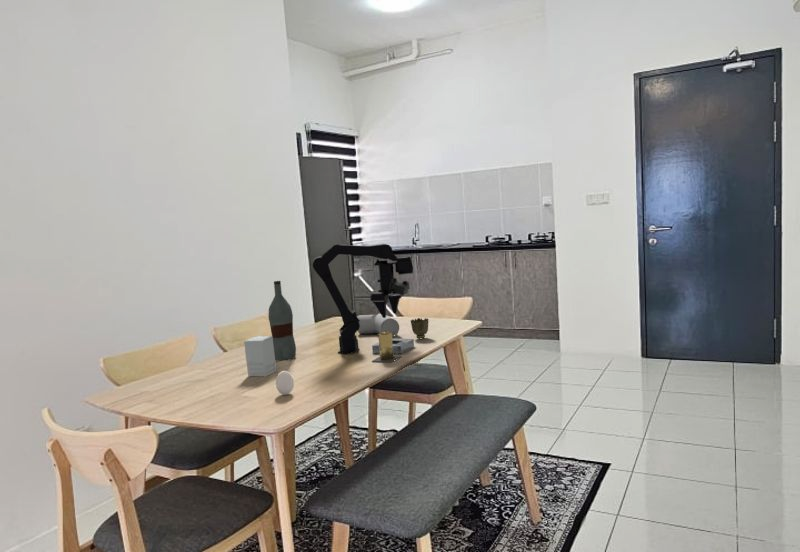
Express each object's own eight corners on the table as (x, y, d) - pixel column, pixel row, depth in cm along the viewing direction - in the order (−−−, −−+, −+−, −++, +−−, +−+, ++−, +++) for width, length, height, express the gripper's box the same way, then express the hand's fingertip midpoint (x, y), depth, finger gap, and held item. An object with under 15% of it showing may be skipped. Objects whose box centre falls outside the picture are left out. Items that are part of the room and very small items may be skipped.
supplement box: (277, 370, 203) (273, 335, 201) (265, 376, 196) (261, 340, 194) (259, 370, 205) (255, 335, 204) (247, 376, 198) (243, 340, 197)
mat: (372, 361, 204) (371, 360, 204) (382, 356, 212) (381, 355, 211) (392, 362, 201) (392, 361, 201) (401, 357, 208) (401, 355, 208)
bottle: (278, 355, 226) (271, 280, 223) (300, 355, 224) (293, 279, 221) (268, 361, 217) (260, 283, 214) (291, 361, 215) (283, 282, 212)
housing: (372, 353, 218) (372, 345, 217) (386, 345, 228) (386, 338, 228) (401, 354, 213) (400, 346, 212) (414, 346, 223) (413, 338, 223)
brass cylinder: (378, 359, 205) (375, 333, 204) (384, 356, 209) (381, 330, 208) (390, 360, 203) (387, 333, 202) (395, 356, 207) (393, 330, 206)
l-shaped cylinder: (406, 326, 259) (364, 328, 264) (403, 305, 256) (361, 306, 260) (399, 343, 243) (354, 345, 247) (395, 321, 240) (350, 322, 244)
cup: (433, 336, 238) (431, 317, 237) (424, 340, 232) (422, 321, 231) (417, 336, 242) (416, 317, 241) (408, 339, 236) (407, 320, 235)
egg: (279, 398, 170) (276, 374, 169) (275, 394, 174) (273, 370, 174) (296, 395, 172) (294, 371, 171) (292, 390, 177) (290, 367, 176)
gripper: (394, 278, 211) (397, 320, 213) (415, 272, 228) (418, 311, 229) (367, 279, 216) (371, 320, 218) (390, 273, 233) (393, 311, 234)
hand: (389, 315), depth 224 cm, fingers open, 9 cm apart
